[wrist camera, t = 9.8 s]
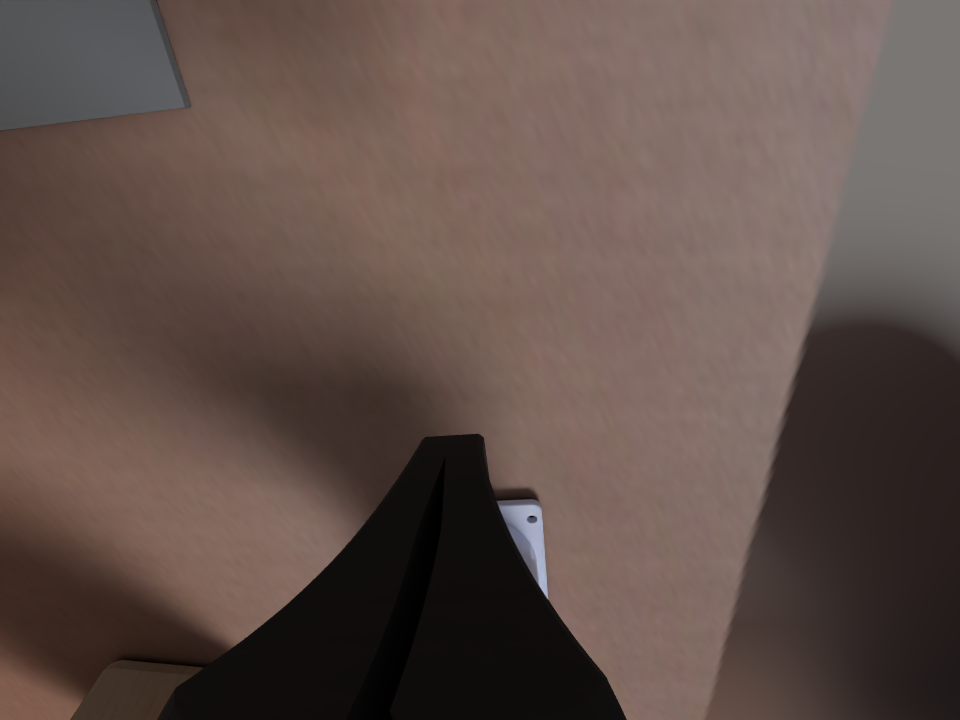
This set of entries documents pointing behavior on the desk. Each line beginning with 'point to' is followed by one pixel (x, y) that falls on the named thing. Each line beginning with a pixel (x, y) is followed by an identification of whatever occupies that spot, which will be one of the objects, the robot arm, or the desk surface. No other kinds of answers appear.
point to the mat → (84, 61)
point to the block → (132, 691)
